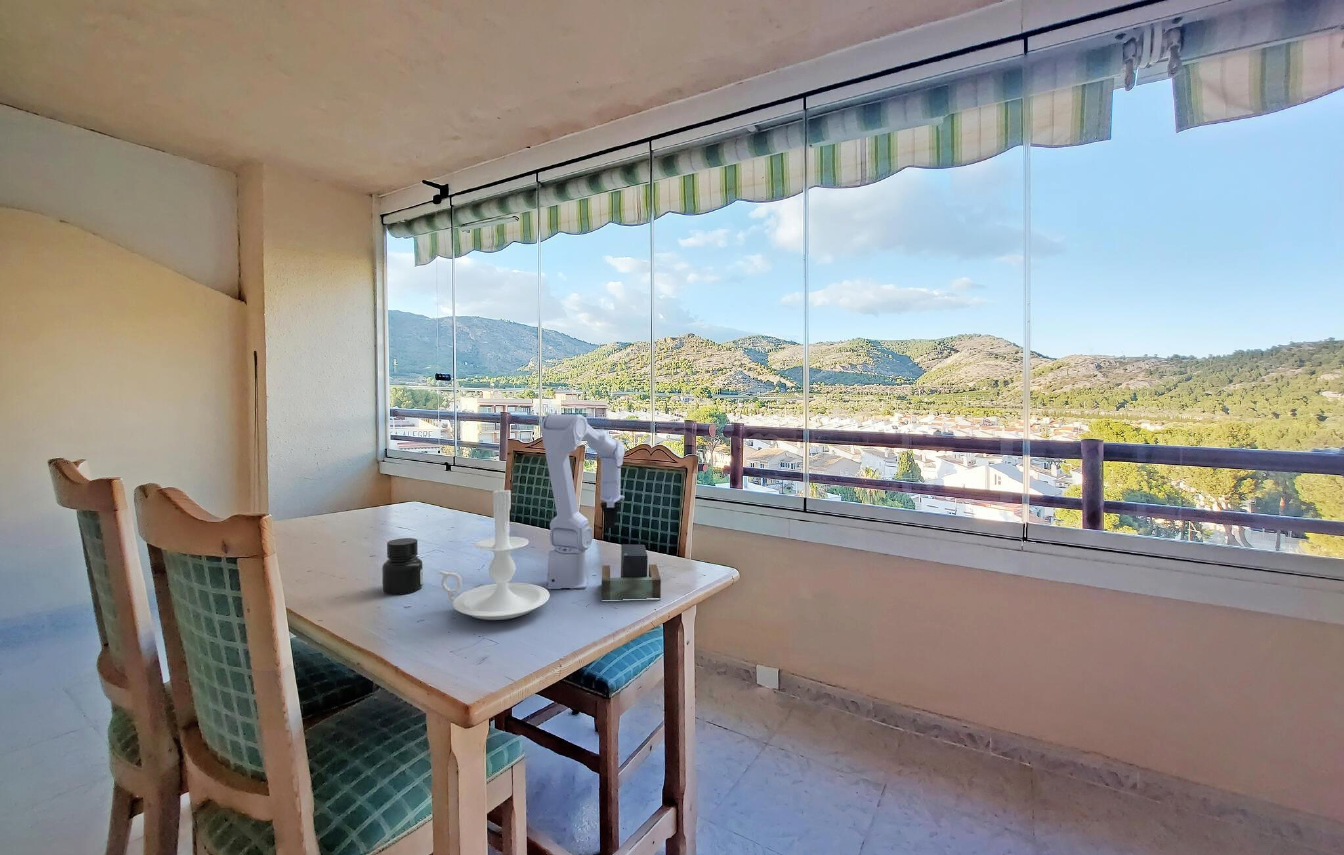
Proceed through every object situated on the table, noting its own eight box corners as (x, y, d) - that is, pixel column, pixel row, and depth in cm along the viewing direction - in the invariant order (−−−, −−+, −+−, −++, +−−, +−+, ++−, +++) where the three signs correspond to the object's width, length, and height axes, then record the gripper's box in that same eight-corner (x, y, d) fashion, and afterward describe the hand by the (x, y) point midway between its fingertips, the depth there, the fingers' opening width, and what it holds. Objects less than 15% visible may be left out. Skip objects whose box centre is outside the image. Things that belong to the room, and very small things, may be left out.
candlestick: (460, 592, 134) (460, 479, 133) (560, 597, 133) (560, 481, 131) (415, 627, 114) (414, 493, 112) (532, 633, 112) (532, 497, 111)
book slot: (601, 601, 130) (601, 580, 130) (602, 584, 142) (602, 565, 142) (660, 600, 131) (660, 579, 131) (656, 583, 143) (656, 564, 143)
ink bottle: (431, 587, 138) (431, 539, 138) (401, 598, 130) (400, 548, 130) (404, 581, 142) (404, 535, 142) (373, 591, 134) (372, 543, 134)
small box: (648, 597, 133) (648, 554, 133) (621, 598, 132) (621, 555, 132) (644, 583, 144) (645, 543, 143) (619, 583, 143) (620, 543, 142)
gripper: (625, 484, 153) (624, 533, 154) (623, 477, 167) (623, 521, 168) (599, 485, 152) (599, 533, 153) (600, 477, 166) (600, 521, 167)
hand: (610, 527), depth 160 cm, fingers closed
